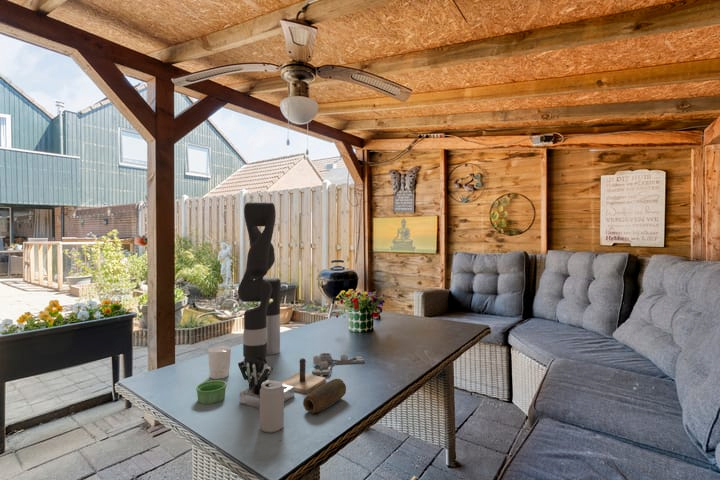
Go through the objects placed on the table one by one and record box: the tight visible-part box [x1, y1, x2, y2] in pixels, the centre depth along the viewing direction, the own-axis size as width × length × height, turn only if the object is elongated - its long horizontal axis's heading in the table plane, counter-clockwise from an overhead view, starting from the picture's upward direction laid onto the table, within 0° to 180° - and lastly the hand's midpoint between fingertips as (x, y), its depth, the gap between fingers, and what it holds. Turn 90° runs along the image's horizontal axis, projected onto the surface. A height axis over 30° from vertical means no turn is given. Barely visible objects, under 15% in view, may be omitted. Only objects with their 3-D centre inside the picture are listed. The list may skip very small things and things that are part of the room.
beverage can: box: [259, 380, 285, 434], centre depth 100 cm, size 6×6×12 cm
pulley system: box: [311, 352, 365, 376], centre depth 149 cm, size 27×5×15 cm
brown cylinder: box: [302, 378, 347, 414], centre depth 114 cm, size 15×7×7 cm, turn 149°
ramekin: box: [195, 379, 227, 405], centre depth 118 cm, size 9×9×4 cm
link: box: [239, 379, 295, 409], centre depth 117 cm, size 12×12×3 cm
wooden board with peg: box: [281, 357, 327, 395], centre depth 130 cm, size 12×12×9 cm
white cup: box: [207, 345, 232, 380], centre depth 137 cm, size 8×8×10 cm
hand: (255, 393), depth 120 cm, fingers closed on link, 1 cm apart
